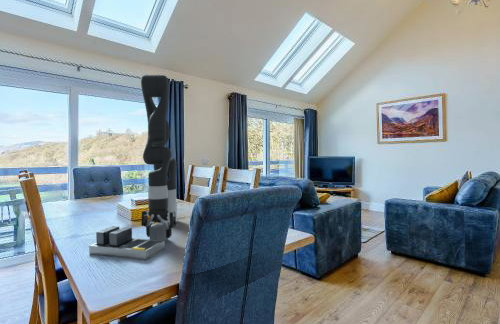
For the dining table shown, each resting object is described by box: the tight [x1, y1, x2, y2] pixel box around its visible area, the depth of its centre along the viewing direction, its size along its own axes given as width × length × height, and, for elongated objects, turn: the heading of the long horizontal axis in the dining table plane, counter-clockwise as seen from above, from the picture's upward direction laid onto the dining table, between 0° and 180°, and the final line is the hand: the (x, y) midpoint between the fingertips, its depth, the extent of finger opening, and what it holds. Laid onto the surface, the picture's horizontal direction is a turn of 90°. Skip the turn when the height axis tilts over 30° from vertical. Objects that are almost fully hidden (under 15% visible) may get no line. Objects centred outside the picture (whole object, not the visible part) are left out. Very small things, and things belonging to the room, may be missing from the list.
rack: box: [88, 225, 166, 261], centre depth 99 cm, size 23×11×8 cm, turn 75°
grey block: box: [149, 222, 169, 242], centre depth 110 cm, size 8×3×7 cm, turn 165°
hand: (158, 237), depth 110 cm, fingers open, 8 cm apart
